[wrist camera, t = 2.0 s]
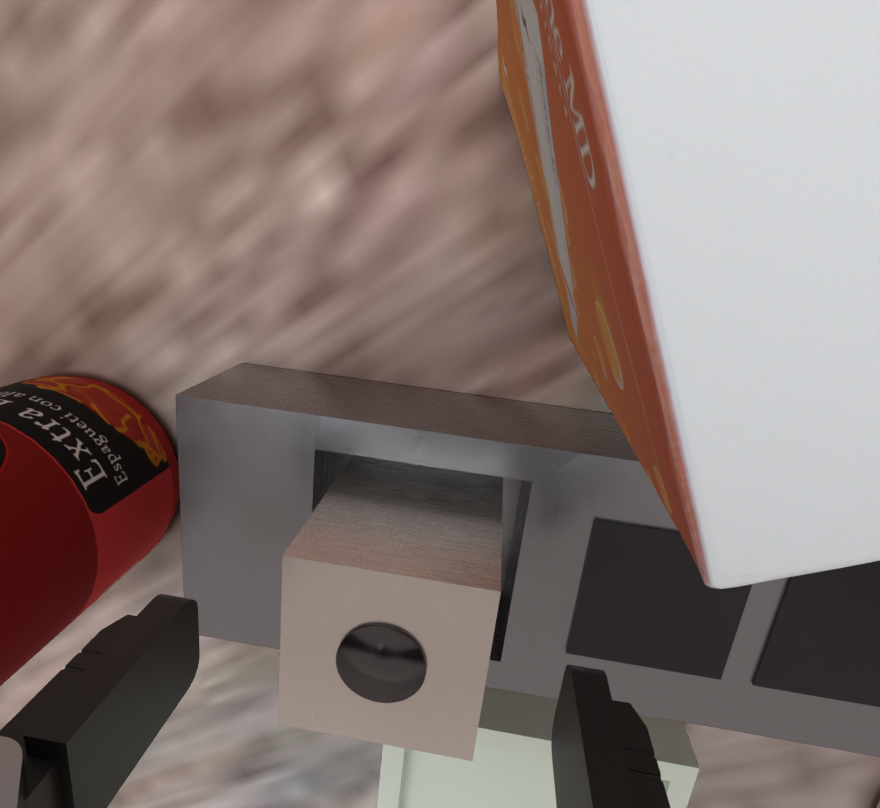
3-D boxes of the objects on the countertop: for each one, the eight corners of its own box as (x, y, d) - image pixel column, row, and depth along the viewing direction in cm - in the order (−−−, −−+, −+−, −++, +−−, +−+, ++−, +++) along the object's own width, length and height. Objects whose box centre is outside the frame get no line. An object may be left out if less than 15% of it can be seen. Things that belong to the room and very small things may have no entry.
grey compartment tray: (914, 455, 17) (1033, 519, 13) (831, 660, 20) (911, 765, 16) (241, 362, 19) (173, 396, 15) (242, 562, 21) (183, 634, 18)
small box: (494, 76, 16) (446, -536, 3) (729, -16, 14) (2154, -1627, 2) (566, 347, 18) (707, 614, 5) (778, 286, 16) (1634, 447, 4)
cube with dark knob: (503, 458, 18) (500, 594, 11) (484, 579, 19) (472, 765, 12) (364, 438, 18) (280, 558, 11) (356, 558, 20) (276, 727, 13)
